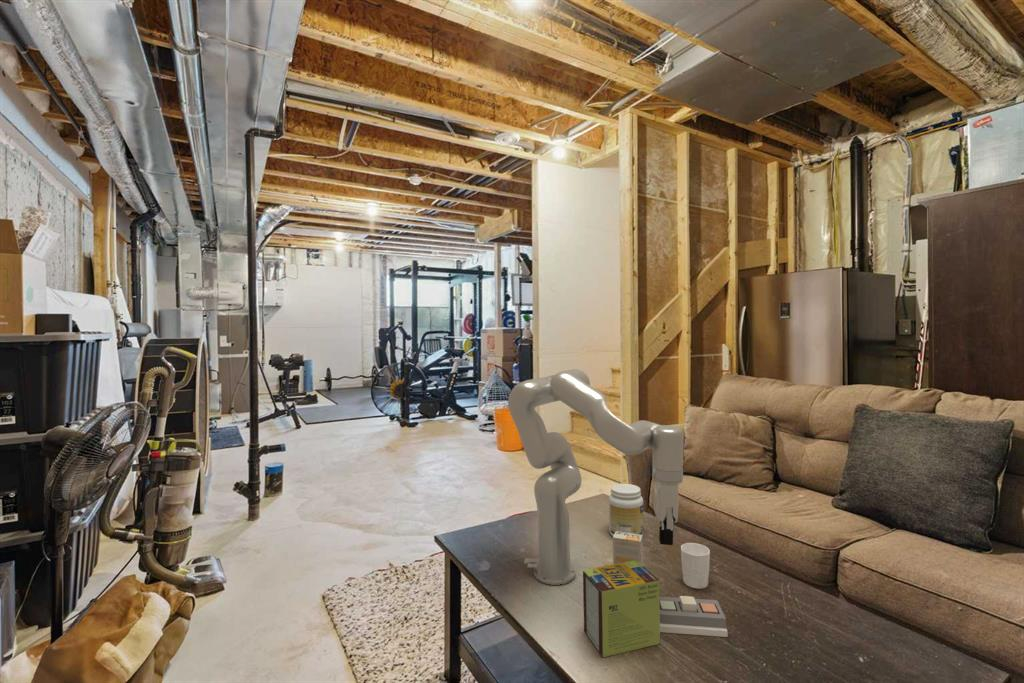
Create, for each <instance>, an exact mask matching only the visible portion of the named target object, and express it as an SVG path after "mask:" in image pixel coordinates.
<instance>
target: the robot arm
mask: <svg viewBox="0 0 1024 683" xmlns="http://www.w3.org/2000/svg"><path fill="white" fill-rule="evenodd" d="M559 401H560V402H562V403H563V404H564V405H566V406H568V407H569V408H570V409H572V410H573V411H574V412H576V413H577V414H579V415H581V416H582V417H583V418H585V419H587V421H588V422H589V424H590V426H591V427H592V428H593V430H594V432H595V433H596V434H597V436H598V437H600V439H602V440H603V441H604V442H606V443H607V444H608V445H610V446H611V447H613V448H614V449H615V450H617V451H618V452H621V453H622V454H625V455H627V456H637V455H640V454H641V453H643V452H644V451H646V450H649V449H652V467H651V468H652V474H651V476H652V478H651V479H652V480H653V481H654V493H653V494H654V496H653V510H654V514H655V518H656V520H657V522H659V525H660V526H659V534H658V535H659V536H658V537H659V538H658V540H659V544H660V545H667V546H673V544H674V524H676V523H677V522H678V520H679V485H680V484H682V483H683V482H684V480H683V477H684V445H685V444H684V443H685V442H684V440H685V439H684V437H685V436H684V435H685V434H684V431H683V429H681V427H679V426H674V425H667V424H659V423H656V422H652V421H648V420H642V419H641V420H637V421H634V422H632V423H630V424H628V423H626V422H624V421H623V420H621V419H620V418H619V417H617V416H615V414H613V413H612V411H610V409H609V408H608V405H607V396H606V394H604V393H603V392H601V391H600V390H598V389H596V388H594V387H593V386H591V381H590V378H589V376H588V375H587V373H585V372H584V371H583V370H580V369H578V368H577V369H568V370H562V371H559V372H557V373H555V374H552V375H547V376H543V377H542V376H541V377H538V378H531V379H526V380H524V381H521V382H519V383H517V384H516V385H514V387H513V388H512V389H511V391H510V393H509V395H508V400H507V407H508V411H509V414H510V416H511V419H512V420H513V423H514V425H515V427H516V430H517V432H518V436H519V438H520V441H521V444H522V446H523V449H524V453H525V455H526V458H527V460H528V463H529V464H530V465H531V466H532V468H534V469H537V470H540V469H542V470H543V469H545V468H548V467H550V470H548V471H546V472H543V474H541V475H540V476H539V477H538V478H537V480H536V481H535V484H534V485H533V486H534V487H533V492H534V497H535V498H534V499H535V502H536V510H537V528H538V529H537V533H538V534H537V535H538V536H537V537H538V541H537V542H538V554H537V555H538V556H537V557H534V558H531V557H528V558H527V557H526V558H524V566H527V569H534V570H533V575H534V578H535V577H536V578H537V579H538V580H537V579H536V578H535V579H536V580H537V581H539V582H540V583H542V582H543V584H545V583H546V585H549V584H550V586H553V585H554V586H561V585H560V584H562V585H566V584H569V583H571V582H572V581H573V580H575V578H576V570H575V567H574V566H572V565H571V546H570V545H571V543H570V540H571V538H570V536H571V535H570V514H569V513H570V512H569V510H568V507H567V504H566V500H567V499H568V498H569V497H571V496H573V495H574V494H576V493H577V492H578V491H580V488H581V485H582V474H581V472H580V469H579V466H578V464H577V463H578V462H577V461H576V458H575V456H574V452H573V450H572V447H571V446H570V442H569V441H568V439H567V438H566V437H565V436H564V435H563V434H561V433H560V432H557V431H550V432H548V430H547V428H546V424H545V423H544V420H543V418H542V417H541V415H540V414H539V413H538V412H537V411H536V410H535V408H537V407H538V406H543V405H546V404H551V403H555V402H559Z"/></svg>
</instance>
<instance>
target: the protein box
mask: <svg viewBox="0 0 1024 683" xmlns="http://www.w3.org/2000/svg"><path fill="white" fill-rule="evenodd" d="M582 584H583V585H582V586H583V588H582V590H583V594H582V595H583V596H582V597H583V631H584V633H585V634H586V636H587V637H588V639H589V640H590V641H591V643H592V645H593V646H594V647H595V648H596V651H598V653H599V654H600V656H601V657H602V658H607V657H610V656H616V655H619V654H624V653H627V652H631V651H636V650H641V649H644V648H648V647H652V646H656V645H657V646H658V645H660V644H661V632H660V602H659V597H660V579H658V578H657V577H656V576H655V575H654V574H653V573H652V572H651V571H649V570H648V569H647V568H646V567H645V566H644V564H643V565H641V564H640V563H639V562H638V561H637V560H633V561H629V562H624V563H618V564H613V563H612V564H609V565H608V564H607V565H603V566H598V567H597V566H596V567H591V568H587V569H583V570H582Z"/></svg>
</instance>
